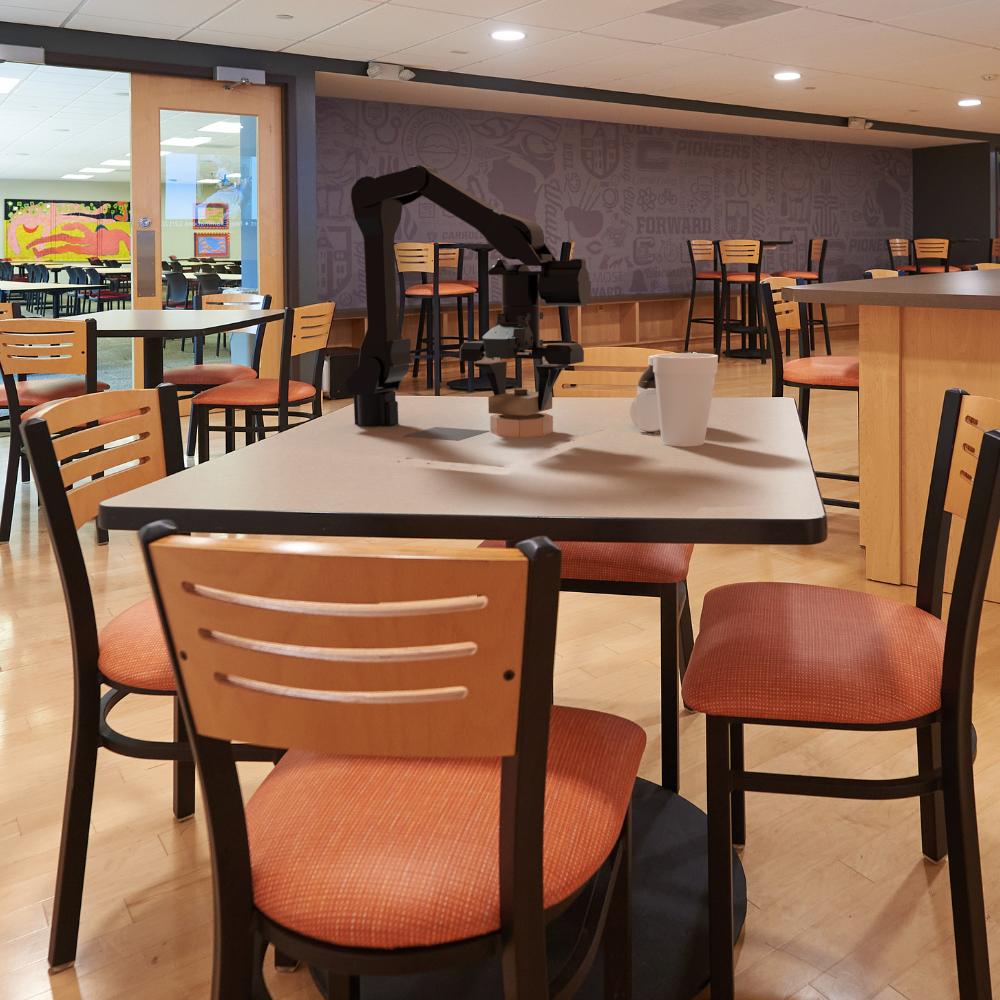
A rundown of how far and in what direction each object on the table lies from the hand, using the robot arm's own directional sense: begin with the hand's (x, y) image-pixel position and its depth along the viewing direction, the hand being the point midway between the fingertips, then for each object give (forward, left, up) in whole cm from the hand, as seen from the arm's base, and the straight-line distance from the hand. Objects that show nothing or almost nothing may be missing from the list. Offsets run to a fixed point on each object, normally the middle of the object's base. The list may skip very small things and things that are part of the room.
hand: (521, 408), depth 152 cm
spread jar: (+17, +19, -5) cm, 26 cm away
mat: (-10, -6, -5) cm, 12 cm away
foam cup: (+24, +6, -5) cm, 25 cm away
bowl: (0, 0, -5) cm, 5 cm away
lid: (0, 0, 0) cm, 0 cm away
